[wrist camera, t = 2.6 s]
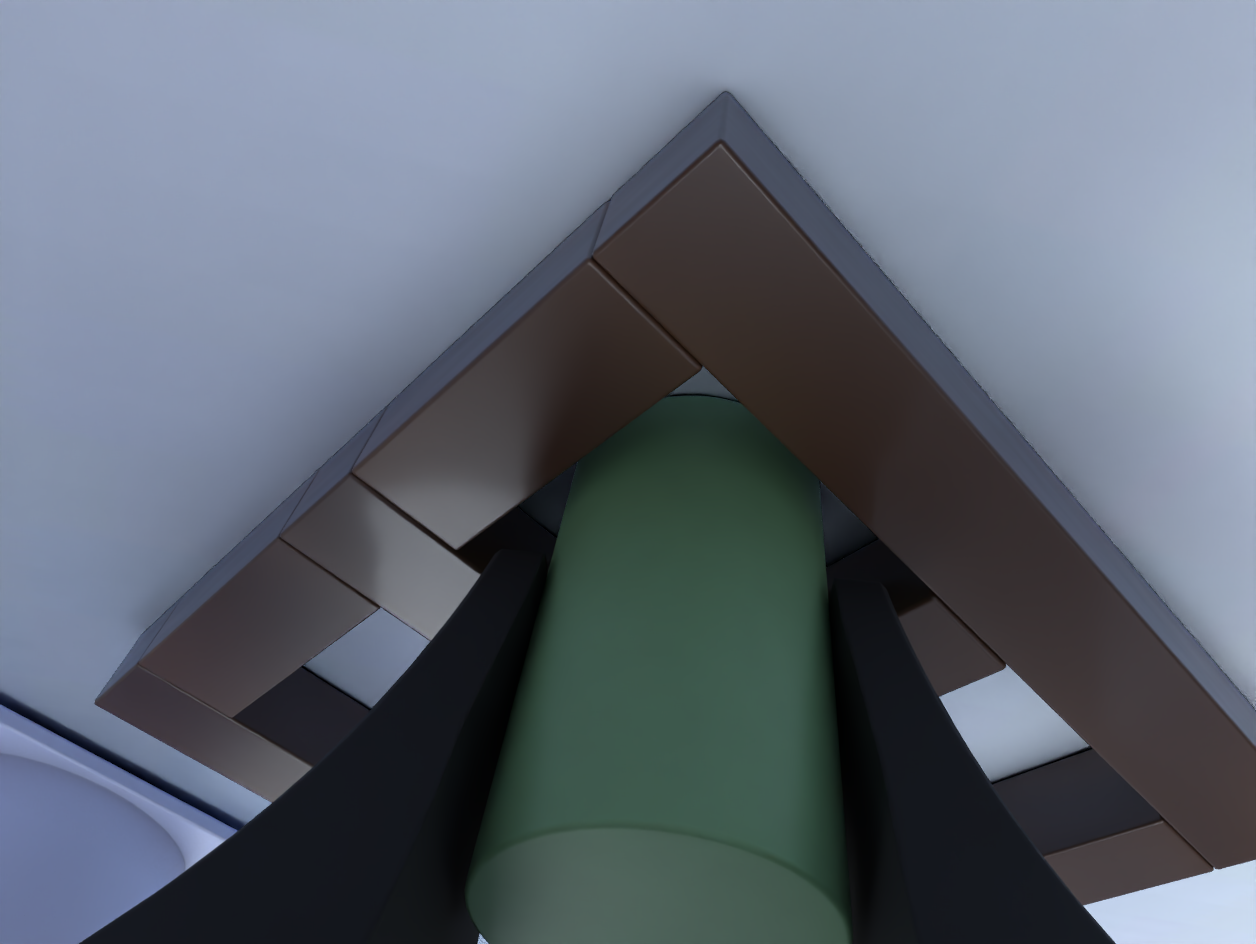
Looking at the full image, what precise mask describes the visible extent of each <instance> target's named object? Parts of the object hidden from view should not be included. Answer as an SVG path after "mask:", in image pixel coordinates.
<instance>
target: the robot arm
mask: <svg viewBox="0 0 1256 944" xmlns="http://www.w3.org/2000/svg"><path fill="white" fill-rule="evenodd" d="M546 578H547V577H546V563H545V552H536V551H524V550H513V549H501V550H499V551H498V552H497V553H495V554H494V556H493V557H492V559H491V560H490V562H489V563H488V565H487V566H486V568H485V569H484V571H483V572H482V574H481V575H480V577H479V578H478V580H477V581H476V582H475V584H474V585H473V587H472V588H471V589H470V591H469V592H468V594H467V595H466V596H465V598H464V599H463V600H462V602H461V603H460V604H459V606H458V607H457V608H456V610H455V611H454V612H453V614H452V615H451V616H450V618H449V619H448V620H447V622H446V623H445V624H444V625H443V627H442V628H441V629H440V630H439V632H438V633H437V634H436V635H435V636H434V638H433V639H432V640H431V641H430V643H429V644H428V645H427V646H426V648H425V649H424V650H423V651H422V653H421V654H420V655H419V656H418V657H417V659H416V660H415V661H414V662H413V663H412V665H411V666H410V667H409V668H408V669H407V670H406V672H405V673H404V674H403V675H402V676H401V677H400V678H399V679H398V680H397V682H396V683H395V684H394V685H393V686H392V687H391V688H390V689H389V690H388V691H387V693H386V694H385V695H384V696H383V697H382V698H381V699H380V700H379V701H378V703H377V704H376V705H375V706H374V707H373V708H372V709H371V710H370V711H369V712H368V713H367V715H366V716H365V717H364V718H363V719H362V720H361V721H360V722H359V723H358V724H357V725H356V726H355V727H354V728H353V729H352V730H351V731H350V732H349V733H348V734H347V735H346V736H345V737H344V738H343V739H342V740H341V741H340V742H339V743H338V744H337V745H336V746H335V747H334V748H333V749H332V750H330V751H329V752H328V753H327V754H326V755H325V756H324V757H323V758H322V759H321V760H320V761H319V762H318V763H317V764H316V765H315V766H314V767H312V768H311V769H310V770H309V771H308V772H307V773H306V774H305V775H304V776H302V777H301V778H300V779H299V780H298V781H297V782H296V783H294V784H293V785H292V786H291V787H290V788H289V789H288V790H286V791H285V792H284V793H283V794H282V795H281V796H280V797H278V798H277V799H276V800H275V801H274V802H273V803H272V804H270V805H269V806H268V807H267V808H266V809H264V810H263V811H262V812H261V813H260V814H258V815H257V816H256V817H255V818H254V819H252V820H251V821H250V822H249V823H247V824H246V825H245V826H244V827H242V828H241V829H240V830H239V831H237V830H236V829H234V828H232V827H230V826H228V825H226V824H224V823H222V822H220V821H219V820H217V819H215V818H213V817H211V816H209V815H207V814H205V813H204V812H202V811H200V810H198V809H196V808H194V807H192V806H190V805H189V804H187V803H185V802H183V801H181V800H179V799H177V798H175V797H173V796H172V795H170V794H168V793H166V792H164V791H162V790H160V789H158V788H157V787H155V786H153V785H151V784H149V783H147V782H145V781H143V780H141V779H140V778H138V777H136V776H134V775H132V774H130V773H128V772H126V771H125V770H123V769H121V768H119V767H117V766H115V765H113V764H111V763H110V762H108V761H106V760H104V759H102V758H100V757H98V756H96V755H94V754H93V753H91V752H89V751H87V750H85V749H83V748H81V747H79V746H78V745H76V744H74V743H72V742H70V741H68V740H66V739H64V738H63V737H61V736H59V735H57V734H55V733H53V732H51V731H49V730H47V729H46V728H44V727H42V726H40V725H38V724H36V723H34V722H32V721H31V720H29V719H27V718H25V717H23V716H21V715H19V714H17V713H16V712H14V711H12V710H10V709H8V708H6V707H4V706H2V705H0V944H477V943H478V938H479V932H478V930H477V929H476V927H475V926H474V924H473V922H472V921H471V919H470V916H469V913H468V911H467V908H466V902H465V891H464V889H465V884H466V879H467V875H468V871H469V867H470V863H471V860H472V856H473V852H474V848H475V845H476V841H477V837H478V833H479V830H480V826H481V822H482V818H483V815H484V811H485V807H486V803H487V800H488V796H489V792H490V788H491V785H492V781H493V777H494V773H495V770H496V766H497V762H498V758H499V754H500V751H501V747H502V743H503V739H504V736H505V732H506V728H507V724H508V721H509V717H510V713H511V709H512V706H513V702H514V698H515V694H516V691H517V687H518V683H519V679H520V676H521V672H522V668H523V664H524V661H525V657H526V653H527V649H528V646H529V642H530V638H531V634H532V630H533V627H534V623H535V619H536V615H537V612H538V608H539V604H540V600H541V597H542V593H543V589H544V585H545V582H546ZM829 616H830V629H831V643H832V656H833V669H834V683H835V696H836V709H837V723H838V736H839V749H840V763H841V776H842V790H843V803H844V817H845V830H846V844H847V857H848V870H849V884H850V897H851V911H852V924H853V943H852V944H1116V943H1115V942H1114V941H1113V940H1112V939H1111V938H1110V936H1109V935H1108V934H1107V933H1106V932H1105V931H1104V930H1103V928H1102V927H1101V926H1100V925H1099V924H1098V923H1097V921H1096V920H1095V919H1094V918H1093V917H1092V916H1091V915H1090V913H1089V912H1088V911H1087V910H1086V909H1085V908H1084V907H1083V905H1082V904H1081V903H1080V902H1079V901H1078V900H1077V898H1076V897H1075V896H1074V895H1073V893H1072V892H1071V891H1070V890H1069V888H1068V887H1067V886H1066V885H1065V883H1064V882H1063V881H1062V879H1061V878H1060V877H1059V876H1058V874H1057V873H1056V872H1055V871H1054V869H1053V868H1052V867H1051V865H1050V864H1049V863H1048V862H1047V860H1046V859H1045V858H1044V857H1043V855H1042V854H1041V853H1040V851H1039V850H1038V849H1037V847H1036V846H1035V845H1034V843H1033V842H1032V841H1031V839H1030V838H1029V836H1028V835H1027V834H1026V832H1025V831H1024V830H1023V828H1022V827H1021V826H1020V824H1019V823H1018V822H1017V820H1016V819H1015V817H1014V816H1013V814H1012V813H1011V812H1010V810H1009V809H1008V807H1007V806H1006V805H1005V803H1004V802H1003V800H1002V799H1001V797H1000V796H999V794H998V793H997V791H996V790H995V788H994V787H993V785H992V784H991V782H990V781H989V779H988V778H987V776H986V775H985V773H984V771H983V770H982V768H981V767H980V765H979V764H978V762H977V761H976V759H975V757H974V756H973V754H972V753H971V751H970V750H969V748H968V746H967V745H966V743H965V741H964V740H963V738H962V736H961V735H960V733H959V731H958V730H957V728H956V727H955V725H954V723H953V721H952V719H951V718H950V716H949V714H948V712H947V711H946V709H945V707H944V705H943V704H942V702H941V700H940V698H939V697H938V695H937V693H936V691H935V690H934V688H933V686H932V684H931V682H930V680H929V678H928V677H927V675H926V673H925V671H924V669H923V667H922V665H921V663H920V661H919V659H918V657H917V655H916V653H915V651H914V649H913V647H912V645H911V643H910V641H909V639H908V637H907V635H906V633H905V631H904V629H903V627H902V624H901V622H900V620H899V618H898V616H897V613H896V611H895V609H894V606H893V604H892V602H891V599H890V597H889V594H888V592H887V589H886V588H885V587H884V586H883V585H882V584H881V583H880V582H874V581H862V580H851V579H840V578H834V580H833V585H832V590H831V594H830V599H829Z"/></svg>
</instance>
